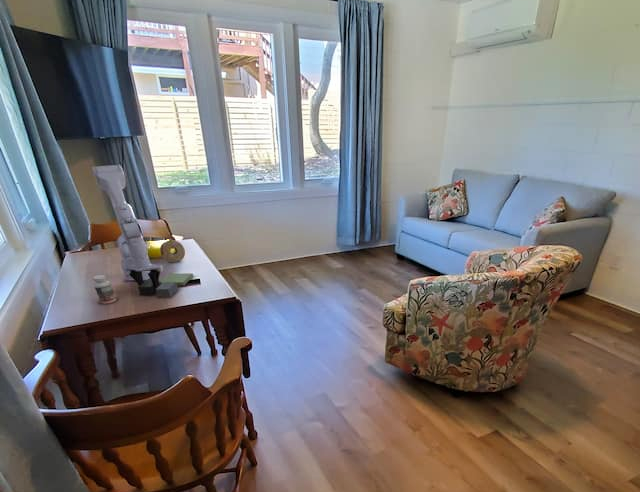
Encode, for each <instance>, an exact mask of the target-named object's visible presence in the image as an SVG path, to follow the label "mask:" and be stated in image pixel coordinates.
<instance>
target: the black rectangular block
mask: <svg viewBox="0 0 640 492" xmlns="http://www.w3.org/2000/svg"><path fill="white" fill-rule="evenodd" d="M159 282H160V280H158V285H159V286H160V283H159ZM137 289H138V292H139V295H140V296H154V295H155V294H157V292H156V289H155V288H154V286H153V283H152V281H151V279H148V280H144V283H142V284H141V285H140V286H139V285H138V286H137Z"/></svg>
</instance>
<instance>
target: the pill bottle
mask: <svg viewBox="0 0 640 492" xmlns="http://www.w3.org/2000/svg"><path fill="white" fill-rule="evenodd" d="M92 278H93V282H94V283H93V287H94V290H95V292H96V295H97V297H98V299H99V302H100V303H101V304H111V303H113V302H115V301H117V297H116V294H115V291H114V288H113V285H112V284H111V281H110V280H108V278H107V276H106V275H105V274H99V275H95V276H94V277H92Z"/></svg>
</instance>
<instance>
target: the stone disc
mask: <svg viewBox="0 0 640 492" xmlns="http://www.w3.org/2000/svg"><path fill="white" fill-rule="evenodd" d="M166 240H167V241H165V242H163V243H162V244H161V247H160V250H161V255H162V258H163V260H165V261H166V262H168V263H177V262H180V261H182V260H184V258H185V255H186V249H185V248H184V245H183V244H182V243H181V242H180V241H178V240H176V239H166ZM171 248H174V249H175V251H174V253H171V252H170V249H171Z"/></svg>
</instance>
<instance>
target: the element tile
mask: <svg viewBox="0 0 640 492" xmlns="http://www.w3.org/2000/svg"><path fill="white" fill-rule="evenodd" d="M167 240H168V239H166V240H150V241H144V242H145V244H146V247H147V250H148V257H149V259H159V258H160V259H161V258H163V257H162V255H161V250H160V247H161V244H162V243H163V242H165V241H167ZM170 252H171V253H175V249H174V248H171V249H170Z"/></svg>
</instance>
